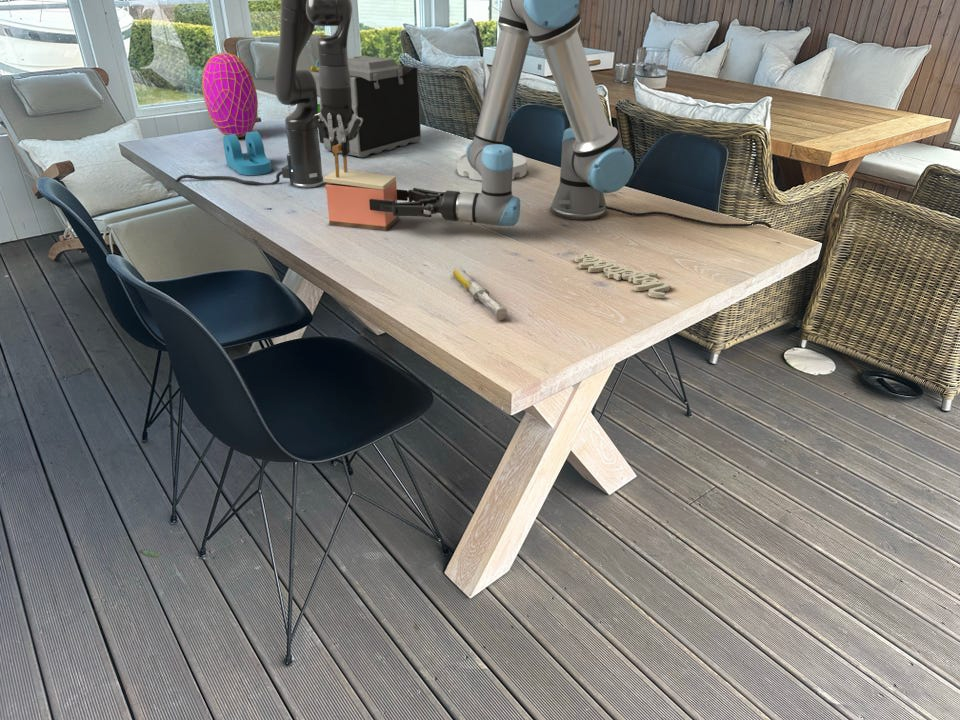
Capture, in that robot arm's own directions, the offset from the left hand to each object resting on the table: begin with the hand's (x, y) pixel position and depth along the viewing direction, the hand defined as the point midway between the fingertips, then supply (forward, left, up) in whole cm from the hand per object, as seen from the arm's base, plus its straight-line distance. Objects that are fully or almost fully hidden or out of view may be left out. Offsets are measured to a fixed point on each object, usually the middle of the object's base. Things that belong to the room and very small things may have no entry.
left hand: (340, 155), depth 177 cm
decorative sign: (+75, -18, -17) cm, 79 cm away
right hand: (+9, 0, -11) cm, 14 cm away
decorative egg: (-80, +78, -17) cm, 114 cm away
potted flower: (-60, +115, -17) cm, 131 cm away
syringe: (+46, -37, -17) cm, 62 cm away
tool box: (-25, +80, -17) cm, 86 cm away
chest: (+5, 0, -17) cm, 18 cm away
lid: (+5, 0, -6) cm, 8 cm away
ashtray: (+27, +58, -17) cm, 67 cm away
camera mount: (-51, +39, -17) cm, 67 cm away
